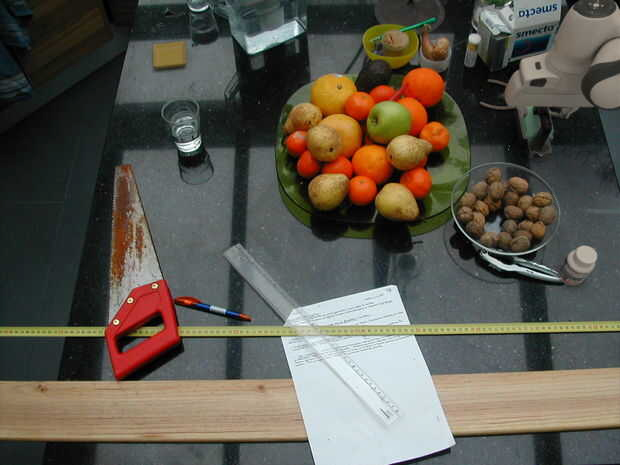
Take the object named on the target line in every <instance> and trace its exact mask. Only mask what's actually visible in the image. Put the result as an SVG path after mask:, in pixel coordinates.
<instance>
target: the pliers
mask: <svg viewBox="0 0 620 465" xmlns="http://www.w3.org/2000/svg"><path fill="white" fill-rule="evenodd" d="M487 83H493V84H497V85H500V86H503V87H505V88H506V87H507V84H508V83H506V82H503V81H500V80H496V79H487ZM479 105H480V106H483V107H485V108H489V109H492V110H497V111H498V110H499V111H508V110H516V107H517V106H508V105H506V106H497V105H492V104H488V103H485V102H483V101H480V102H479ZM562 108H564V107H549V112H550V116H551V117H553V118H559V119H560V118H561V116H560V113H559V112H556V111H552V110H551V109H554V110H559V111H562Z"/></svg>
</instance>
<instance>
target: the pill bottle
mask: <svg viewBox="0 0 620 465" xmlns="http://www.w3.org/2000/svg"><path fill="white" fill-rule="evenodd" d="M597 260H598V254H597V251H596V249H594V248H593V247H591V246H588V245H581V246H579V247H577V248H576V249H573V250H572V251H570V252H569V253H568V255H567V256H566V257H565V258H564V260H562V261H561V263H560V265H559V266H558V268H557V274H558V273H559V275H560V277H561V278H562V280H561V282H563V283H564V284H566V285H568V286H577V285H580V284H581V283H582V282H583V281H584V280H585V279H586V278H587V277H588V275H589V274H590V273H591V272H592V271H593V270H594V268H595V266H596V262H597ZM559 275H558V276H559ZM560 277H559V278H560Z"/></svg>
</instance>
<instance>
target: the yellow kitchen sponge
mask: <svg viewBox="0 0 620 465" xmlns="http://www.w3.org/2000/svg"><path fill="white" fill-rule="evenodd" d="M152 46H153V47H152V52H153V53H152V60H153V61H152V63H153V64H152V65H153V67H154V68H156V69H167V68H178V67H183V66H185V65H186V64H187V50H186V48H187V47H186V41H183V40H181V41H174V42H173V41H172V42H164V43H154V44H153V45H152Z"/></svg>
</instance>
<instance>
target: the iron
mask: <svg viewBox="0 0 620 465" xmlns="http://www.w3.org/2000/svg"><path fill="white" fill-rule="evenodd" d="M526 107H527V109H528V110H527V111H528V115H527V117H526V118H519V110H520V109H519V106H517V107H516V109H514V112H513V119H514V125H515V129H516V135H517V140H518V141H517V142H518V146H519V147H523V150H524V155H525V160H526V161H533V162H534V163H536V164H537V165H539V164H540V163H541V162H542V161H548V160H549V159H550V157H551V155H552V153H553V150H552V142H553V140H554V132H555V131H554V126H553V122H552V116H550V112H549V110H550V108H549V107H545V106H526Z"/></svg>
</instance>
